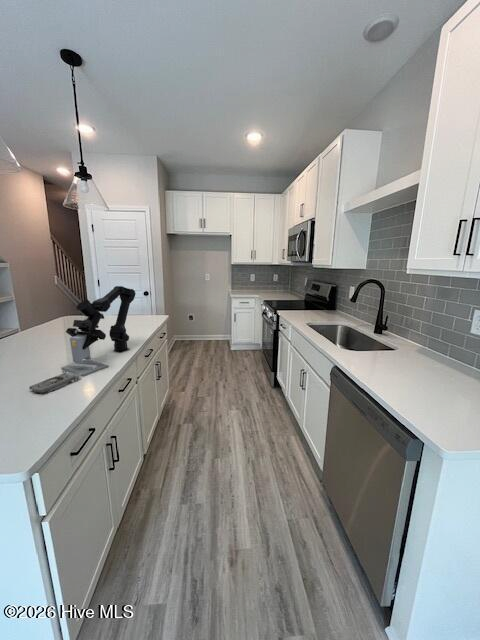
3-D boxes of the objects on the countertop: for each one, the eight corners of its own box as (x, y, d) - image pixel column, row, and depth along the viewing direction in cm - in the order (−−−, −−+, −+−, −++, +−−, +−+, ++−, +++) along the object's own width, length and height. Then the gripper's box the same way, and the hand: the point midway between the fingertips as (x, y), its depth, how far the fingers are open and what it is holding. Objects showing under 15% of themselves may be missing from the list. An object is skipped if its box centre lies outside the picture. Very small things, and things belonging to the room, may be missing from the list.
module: (82, 358, 131) (78, 334, 128) (90, 359, 130) (87, 335, 127) (71, 363, 125) (68, 338, 122) (80, 363, 124) (77, 338, 121)
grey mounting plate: (86, 360, 141) (86, 356, 140) (108, 367, 132) (107, 362, 132) (61, 369, 130) (60, 364, 129) (83, 376, 121) (82, 371, 121)
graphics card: (64, 368, 123) (81, 372, 118) (65, 376, 124) (82, 380, 119) (23, 384, 108) (40, 389, 103) (25, 392, 109) (42, 397, 104)
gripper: (65, 312, 128) (49, 339, 120) (99, 313, 125) (84, 342, 117) (80, 323, 138) (66, 350, 130) (111, 325, 134) (99, 353, 126)
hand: (78, 348), depth 125 cm, fingers closed on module, 5 cm apart
